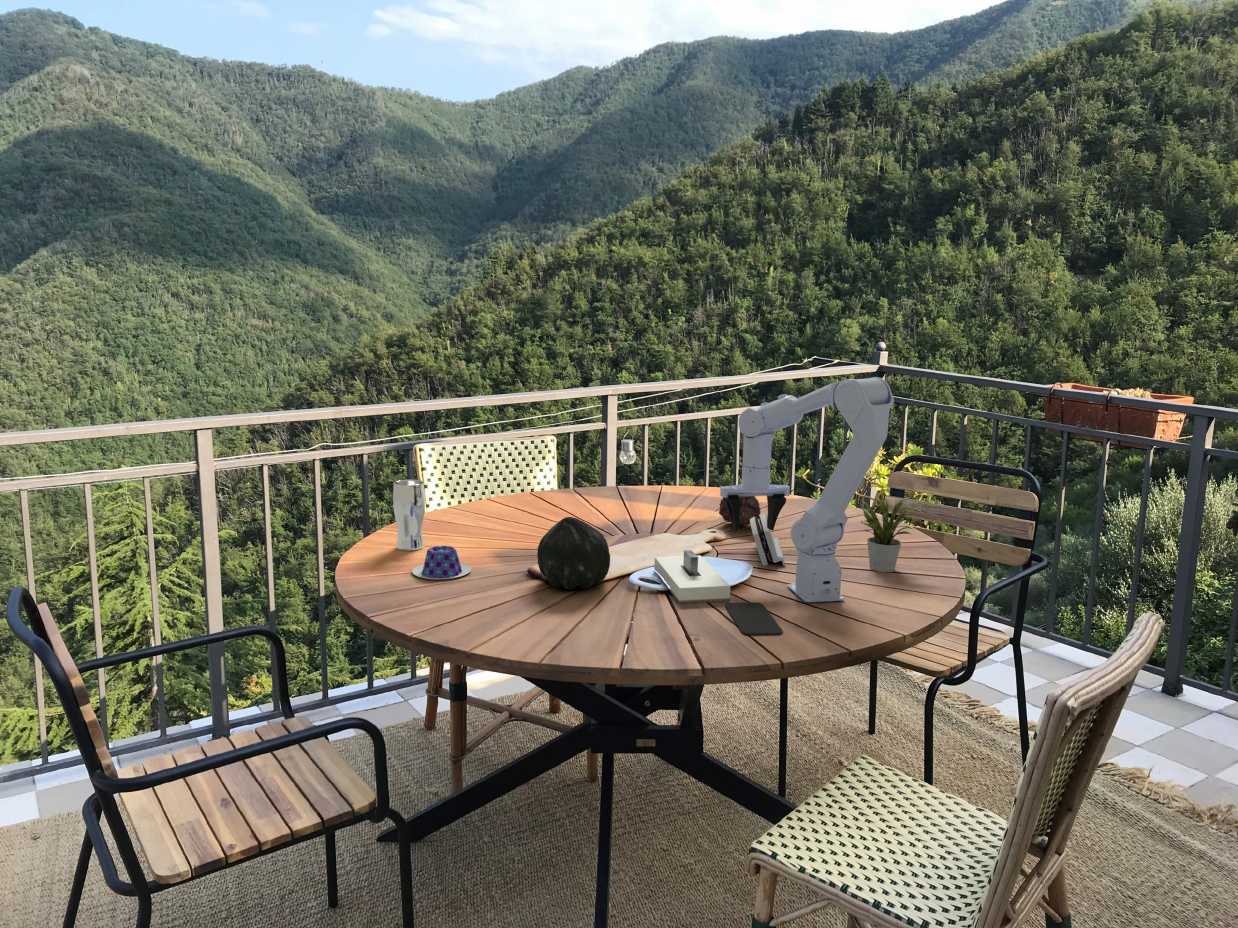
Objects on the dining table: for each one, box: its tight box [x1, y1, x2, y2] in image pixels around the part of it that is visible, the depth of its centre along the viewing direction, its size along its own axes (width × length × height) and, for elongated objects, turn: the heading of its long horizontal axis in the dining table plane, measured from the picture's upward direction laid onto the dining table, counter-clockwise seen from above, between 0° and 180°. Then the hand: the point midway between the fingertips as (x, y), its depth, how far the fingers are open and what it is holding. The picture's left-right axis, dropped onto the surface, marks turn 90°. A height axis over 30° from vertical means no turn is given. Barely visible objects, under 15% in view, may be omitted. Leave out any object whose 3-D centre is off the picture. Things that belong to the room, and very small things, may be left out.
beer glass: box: [392, 479, 426, 552], centre depth 194 cm, size 7×7×15 cm
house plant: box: [860, 496, 922, 573], centre depth 187 cm, size 14×14×16 cm
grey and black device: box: [749, 514, 787, 567], centre depth 196 cm, size 17×5×10 cm, turn 174°
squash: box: [536, 516, 611, 591], centre depth 172 cm, size 14×15×15 cm
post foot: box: [653, 554, 731, 604], centre depth 174 cm, size 20×10×3 cm, turn 11°
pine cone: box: [718, 496, 761, 527], centre depth 219 cm, size 18×10×10 cm, turn 12°
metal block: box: [683, 549, 698, 576], centre depth 174 cm, size 5×2×6 cm, turn 12°
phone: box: [724, 601, 784, 637], centre depth 156 cm, size 7×1×15 cm
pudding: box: [411, 545, 472, 580], centre depth 179 cm, size 12×12×5 cm
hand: (753, 529), depth 181 cm, fingers open, 7 cm apart
